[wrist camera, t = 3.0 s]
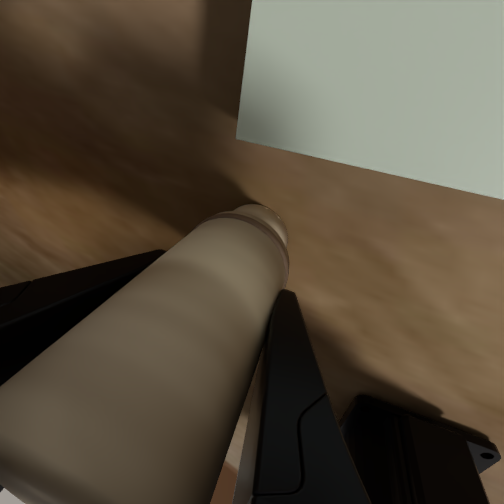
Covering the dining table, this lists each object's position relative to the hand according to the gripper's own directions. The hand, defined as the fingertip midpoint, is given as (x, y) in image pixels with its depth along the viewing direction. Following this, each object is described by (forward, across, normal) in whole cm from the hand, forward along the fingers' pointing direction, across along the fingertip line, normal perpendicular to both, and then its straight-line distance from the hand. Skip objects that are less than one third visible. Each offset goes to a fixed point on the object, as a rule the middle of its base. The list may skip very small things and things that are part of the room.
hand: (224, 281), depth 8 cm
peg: (+3, 0, 0) cm, 3 cm away
